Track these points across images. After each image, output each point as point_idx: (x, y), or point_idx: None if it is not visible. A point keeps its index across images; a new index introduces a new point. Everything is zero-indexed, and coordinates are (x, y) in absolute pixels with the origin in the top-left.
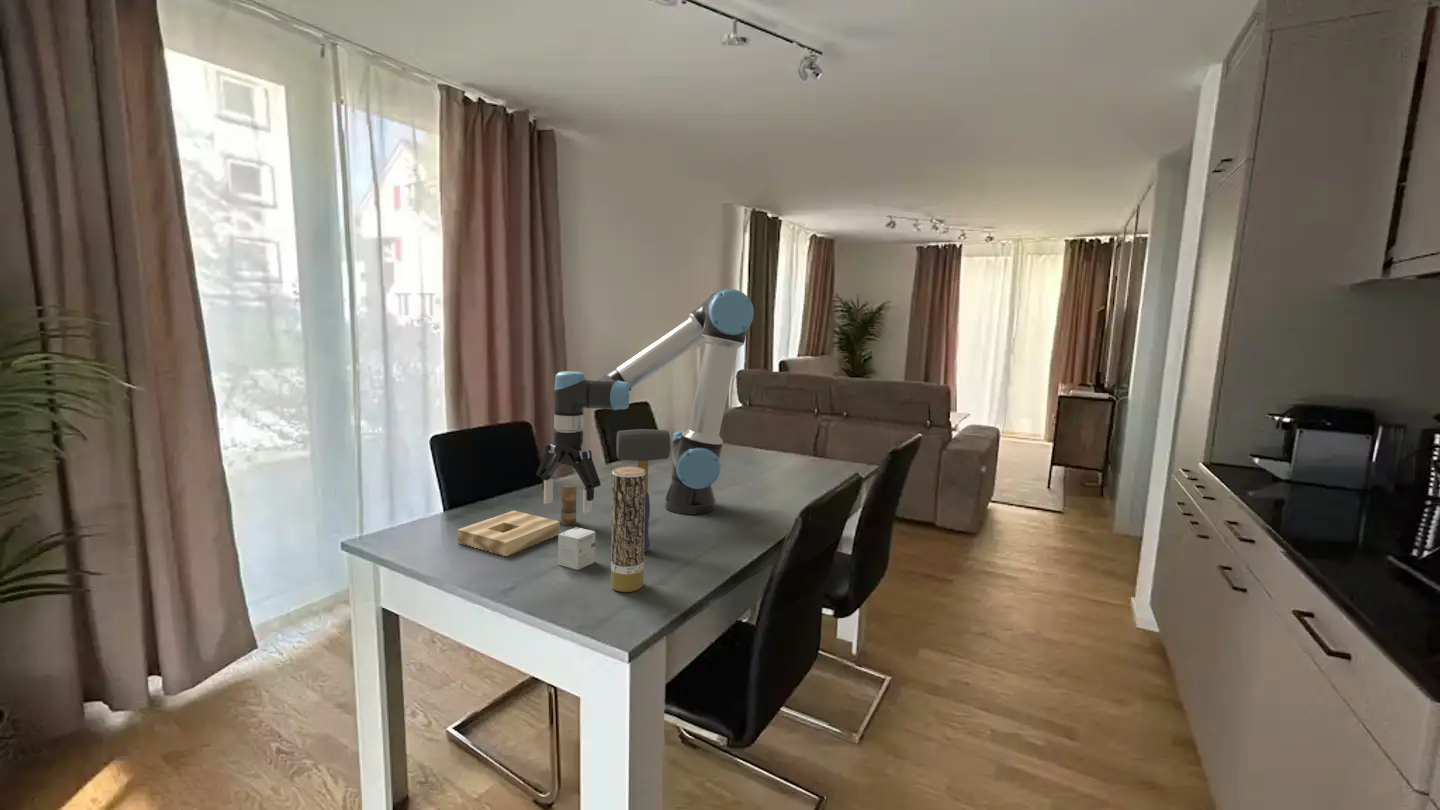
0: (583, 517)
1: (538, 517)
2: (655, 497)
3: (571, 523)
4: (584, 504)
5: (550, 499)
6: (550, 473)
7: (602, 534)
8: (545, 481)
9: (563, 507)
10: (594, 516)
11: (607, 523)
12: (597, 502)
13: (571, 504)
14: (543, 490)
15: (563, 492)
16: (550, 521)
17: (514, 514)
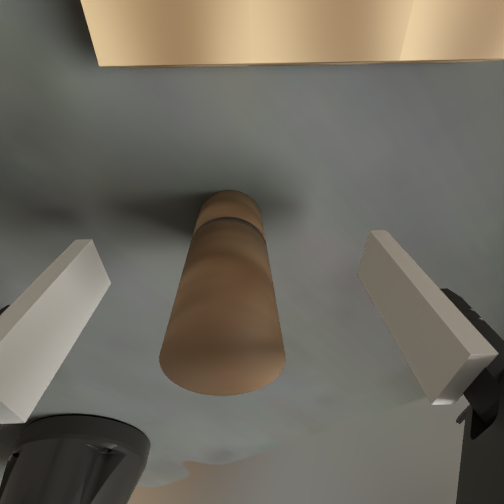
0: None
1: (285, 37)
2: (201, 442)
3: (199, 211)
4: (47, 272)
5: (367, 271)
6: (486, 461)
7: (4, 198)
8: (472, 347)
9: (226, 231)
10: None
11: (117, 291)
12: (294, 379)
13: (185, 264)
14: (441, 289)
15: (221, 297)
16: (141, 14)
17: None
